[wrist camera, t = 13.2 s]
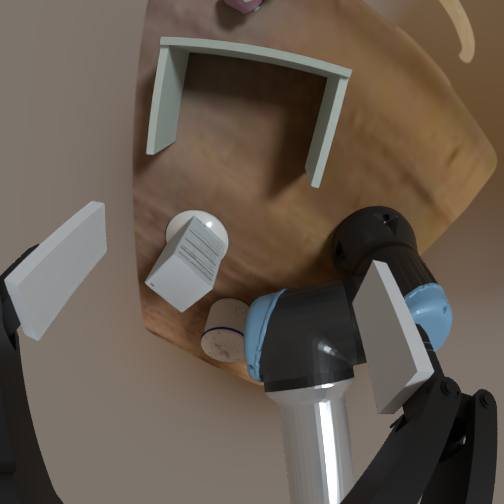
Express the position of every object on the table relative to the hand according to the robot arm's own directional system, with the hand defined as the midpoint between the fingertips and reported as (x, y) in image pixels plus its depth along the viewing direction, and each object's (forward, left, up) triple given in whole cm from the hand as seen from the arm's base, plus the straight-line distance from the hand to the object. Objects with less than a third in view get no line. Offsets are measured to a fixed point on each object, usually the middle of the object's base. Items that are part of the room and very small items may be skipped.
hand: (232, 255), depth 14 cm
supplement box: (-5, +20, -32) cm, 38 cm away
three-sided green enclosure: (+5, -2, -33) cm, 33 cm away
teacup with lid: (-22, +27, -33) cm, 48 cm away
